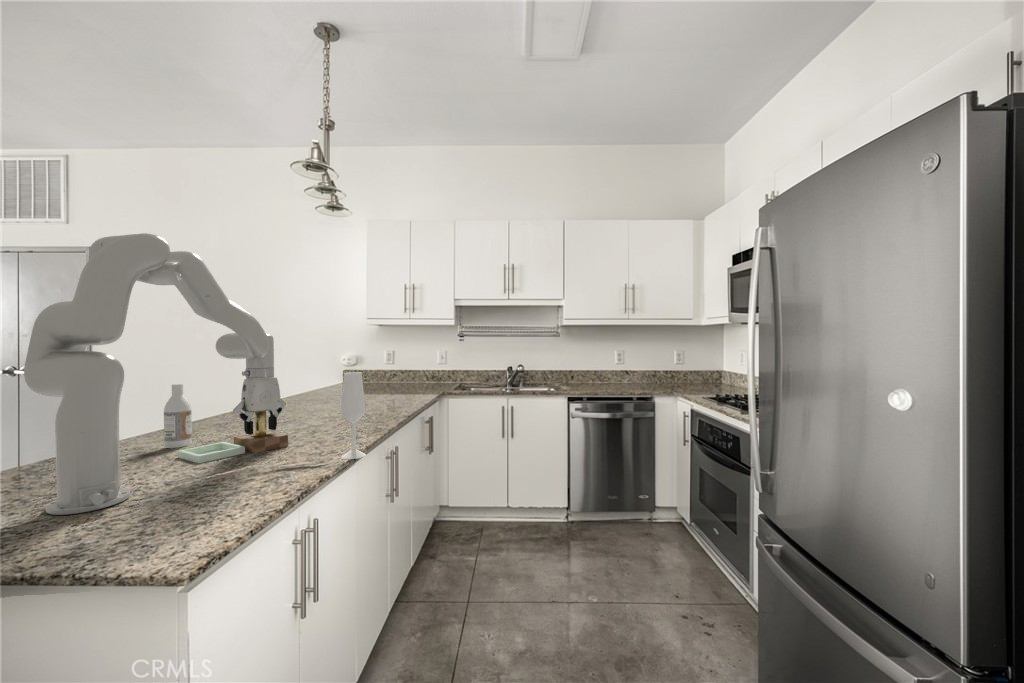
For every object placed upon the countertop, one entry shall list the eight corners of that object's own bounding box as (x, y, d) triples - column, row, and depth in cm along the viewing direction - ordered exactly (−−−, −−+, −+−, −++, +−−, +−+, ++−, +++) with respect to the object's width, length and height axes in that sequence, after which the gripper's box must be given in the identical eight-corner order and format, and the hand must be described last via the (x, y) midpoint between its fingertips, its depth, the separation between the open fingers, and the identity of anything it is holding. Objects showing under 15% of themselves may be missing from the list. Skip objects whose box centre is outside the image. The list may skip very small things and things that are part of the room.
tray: (244, 455, 129) (244, 446, 129) (198, 465, 118) (198, 456, 118) (223, 450, 135) (223, 441, 135) (177, 459, 124) (177, 450, 124)
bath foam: (185, 449, 136) (184, 384, 136) (159, 450, 135) (158, 385, 135) (196, 443, 143) (195, 382, 143) (171, 445, 142) (170, 383, 142)
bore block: (288, 447, 137) (288, 434, 137) (255, 455, 128) (255, 441, 128) (266, 443, 143) (266, 430, 143) (233, 450, 135) (233, 437, 134)
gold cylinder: (268, 448, 136) (268, 409, 136) (259, 450, 134) (258, 411, 134) (263, 447, 138) (262, 409, 138) (253, 449, 135) (252, 410, 135)
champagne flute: (347, 452, 130) (347, 371, 130) (369, 452, 130) (368, 371, 130) (337, 458, 124) (335, 373, 123) (360, 459, 123) (359, 373, 123)
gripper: (237, 376, 126) (238, 438, 126) (293, 372, 141) (294, 427, 141) (223, 375, 130) (224, 436, 130) (280, 371, 145) (280, 425, 145)
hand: (261, 431), depth 136 cm, fingers open, 6 cm apart
